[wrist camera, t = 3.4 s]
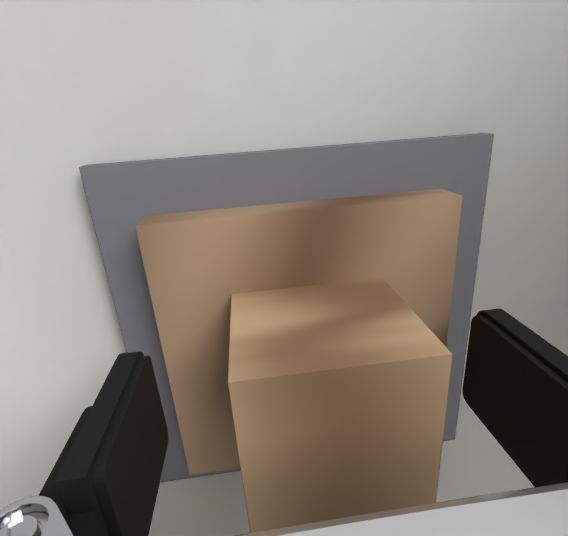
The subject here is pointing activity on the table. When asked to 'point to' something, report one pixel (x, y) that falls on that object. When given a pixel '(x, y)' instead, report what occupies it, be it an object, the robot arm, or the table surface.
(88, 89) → the table surface
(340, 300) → the lid
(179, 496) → the table surface
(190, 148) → the table surface
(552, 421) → the robot arm
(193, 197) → the mat
